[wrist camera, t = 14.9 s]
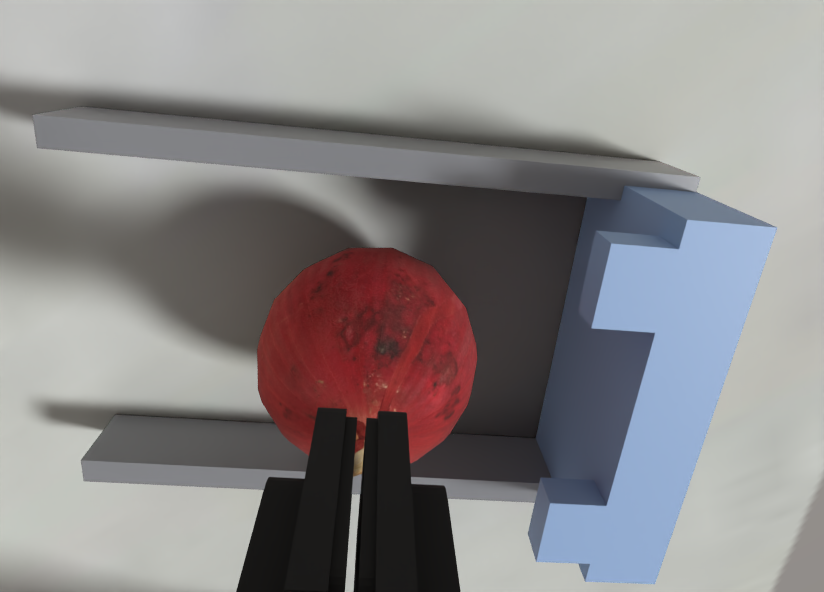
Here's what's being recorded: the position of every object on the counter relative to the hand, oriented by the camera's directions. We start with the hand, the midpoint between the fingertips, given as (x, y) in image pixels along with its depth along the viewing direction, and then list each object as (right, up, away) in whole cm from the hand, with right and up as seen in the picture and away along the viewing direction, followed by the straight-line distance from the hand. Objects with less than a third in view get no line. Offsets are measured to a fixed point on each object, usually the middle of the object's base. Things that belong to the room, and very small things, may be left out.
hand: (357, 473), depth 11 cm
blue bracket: (+7, +2, +9) cm, 11 cm away
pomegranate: (0, +3, +8) cm, 9 cm away
